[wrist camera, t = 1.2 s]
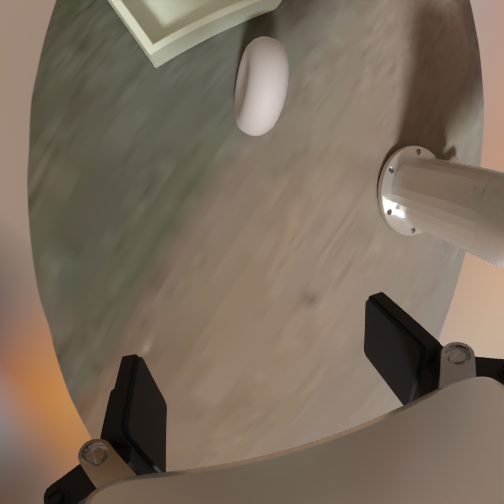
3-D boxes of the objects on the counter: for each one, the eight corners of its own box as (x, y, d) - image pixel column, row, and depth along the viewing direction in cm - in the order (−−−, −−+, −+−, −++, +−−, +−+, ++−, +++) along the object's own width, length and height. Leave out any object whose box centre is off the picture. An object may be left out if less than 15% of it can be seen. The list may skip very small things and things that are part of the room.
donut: (260, 139, 31) (288, 136, 22) (228, 136, 30) (244, 130, 21) (268, 56, 28) (298, 25, 19) (237, 52, 27) (257, 16, 18)
